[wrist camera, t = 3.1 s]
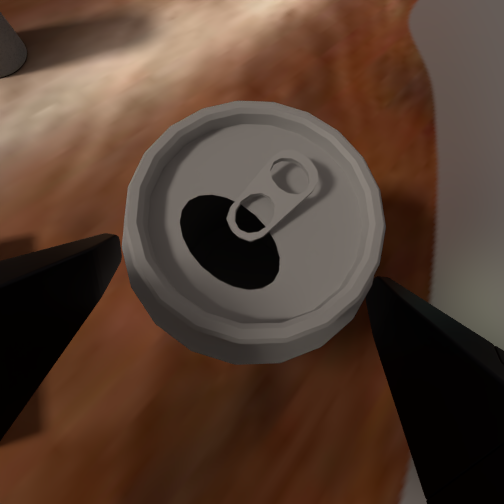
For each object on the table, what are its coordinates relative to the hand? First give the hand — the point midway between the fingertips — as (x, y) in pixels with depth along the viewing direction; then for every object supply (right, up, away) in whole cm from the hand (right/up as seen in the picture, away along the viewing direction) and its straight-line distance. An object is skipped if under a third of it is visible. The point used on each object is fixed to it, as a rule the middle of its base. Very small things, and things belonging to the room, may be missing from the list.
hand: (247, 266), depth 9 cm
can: (-1, -1, +9) cm, 9 cm away
